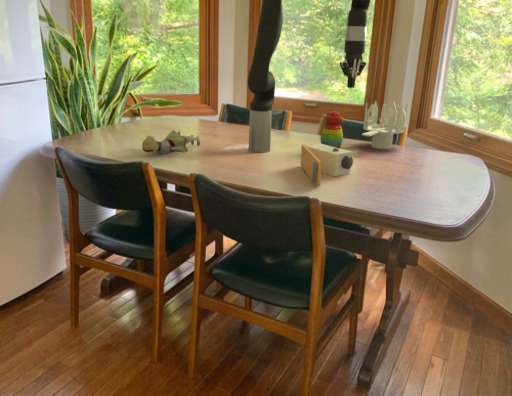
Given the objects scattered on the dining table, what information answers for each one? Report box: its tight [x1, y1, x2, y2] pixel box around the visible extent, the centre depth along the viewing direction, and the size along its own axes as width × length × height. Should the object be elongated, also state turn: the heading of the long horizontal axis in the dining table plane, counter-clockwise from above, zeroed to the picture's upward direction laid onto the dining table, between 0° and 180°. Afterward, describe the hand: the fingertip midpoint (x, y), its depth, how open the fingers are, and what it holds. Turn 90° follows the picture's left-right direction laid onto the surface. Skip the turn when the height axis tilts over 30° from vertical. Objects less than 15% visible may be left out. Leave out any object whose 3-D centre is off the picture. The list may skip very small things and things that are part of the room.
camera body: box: [305, 142, 354, 177], centre depth 171 cm, size 17×8×9 cm, turn 38°
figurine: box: [141, 130, 201, 155], centre depth 192 cm, size 25×8×30 cm
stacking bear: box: [320, 110, 345, 150], centre depth 197 cm, size 11×10×18 cm
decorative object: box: [361, 100, 408, 150], centre depth 206 cm, size 18×29×20 cm, turn 143°
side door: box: [299, 144, 322, 187], centre depth 163 cm, size 26×2×8 cm, turn 7°
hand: (350, 87), depth 177 cm, fingers closed
